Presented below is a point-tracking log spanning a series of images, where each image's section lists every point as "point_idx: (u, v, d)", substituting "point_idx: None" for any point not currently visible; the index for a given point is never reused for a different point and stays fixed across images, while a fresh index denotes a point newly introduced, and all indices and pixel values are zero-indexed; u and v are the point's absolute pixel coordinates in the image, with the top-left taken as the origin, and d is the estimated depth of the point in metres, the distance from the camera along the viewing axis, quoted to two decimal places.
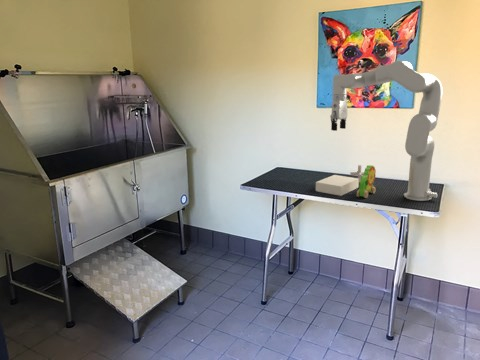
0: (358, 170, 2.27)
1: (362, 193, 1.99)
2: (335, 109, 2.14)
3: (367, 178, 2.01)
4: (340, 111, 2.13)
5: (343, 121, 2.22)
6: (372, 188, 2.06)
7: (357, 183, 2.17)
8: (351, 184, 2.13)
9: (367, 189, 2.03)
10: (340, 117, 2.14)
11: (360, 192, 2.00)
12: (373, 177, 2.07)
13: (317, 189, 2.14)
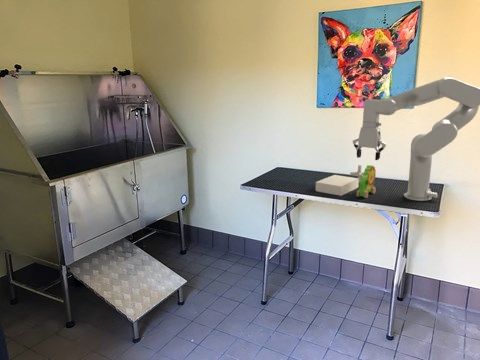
0: (358, 170, 2.27)
1: (362, 193, 1.99)
2: (379, 137, 1.96)
3: (367, 178, 2.01)
4: None
5: (360, 149, 2.04)
6: (372, 188, 2.06)
7: (357, 183, 2.17)
8: (351, 184, 2.13)
9: (367, 189, 2.03)
10: None
11: (360, 192, 2.00)
12: (373, 177, 2.07)
13: (317, 189, 2.14)
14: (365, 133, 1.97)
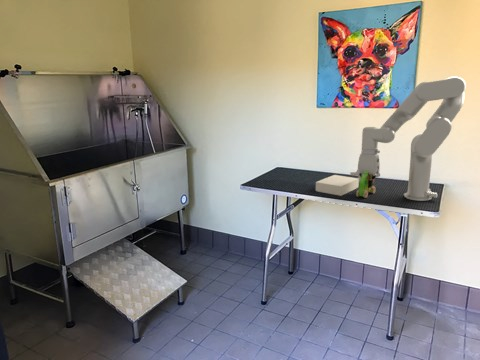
0: None
1: (362, 193, 1.99)
2: (378, 164, 1.99)
3: (367, 178, 2.01)
4: None
5: None
6: (372, 188, 2.06)
7: (357, 183, 2.17)
8: (351, 184, 2.13)
9: (367, 189, 2.03)
10: None
11: (360, 192, 2.00)
12: None
13: (317, 189, 2.14)
14: (364, 160, 2.01)
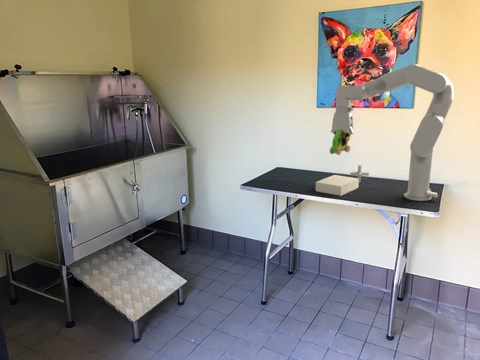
0: (358, 170, 2.27)
1: (335, 150, 2.04)
2: (351, 121, 2.04)
3: (340, 135, 2.06)
4: None
5: None
6: (346, 146, 2.11)
7: (357, 183, 2.17)
8: (351, 184, 2.13)
9: (340, 147, 2.08)
10: None
11: (333, 149, 2.05)
12: (348, 136, 2.12)
13: (317, 189, 2.14)
14: (338, 118, 2.05)
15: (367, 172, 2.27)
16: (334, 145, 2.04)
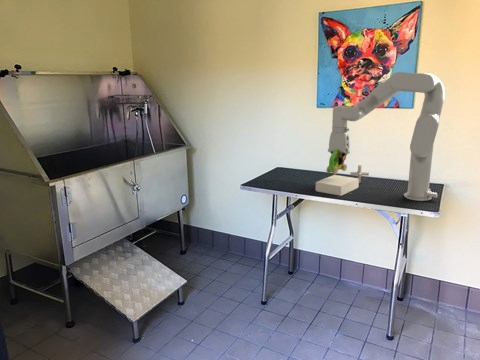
0: (358, 170, 2.27)
1: (332, 169, 2.08)
2: (348, 141, 2.08)
3: (337, 155, 2.09)
4: None
5: None
6: (343, 165, 2.15)
7: (357, 183, 2.17)
8: (351, 184, 2.13)
9: (337, 166, 2.11)
10: None
11: (329, 168, 2.09)
12: None
13: (317, 189, 2.14)
14: (334, 138, 2.09)
15: (367, 172, 2.27)
16: (331, 165, 2.08)
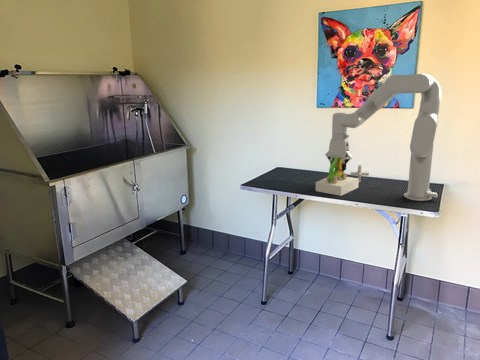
0: (358, 170, 2.27)
1: (332, 178, 2.09)
2: (347, 148, 2.08)
3: (337, 164, 2.11)
4: None
5: None
6: (343, 174, 2.16)
7: (357, 183, 2.17)
8: (351, 184, 2.13)
9: (337, 175, 2.13)
10: None
11: (330, 177, 2.10)
12: None
13: (317, 189, 2.14)
14: (334, 145, 2.10)
15: (367, 172, 2.27)
16: (331, 174, 2.09)
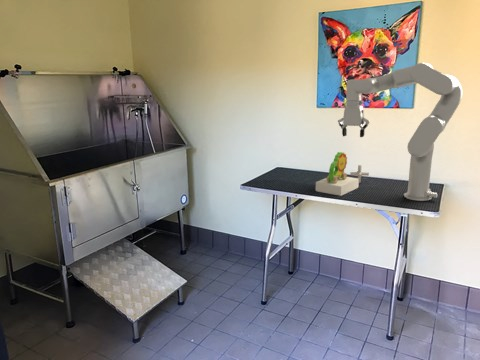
0: (358, 170, 2.27)
1: (332, 178, 2.09)
2: (363, 115, 2.05)
3: (337, 164, 2.11)
4: None
5: (345, 128, 2.13)
6: (343, 174, 2.16)
7: (357, 183, 2.17)
8: (351, 184, 2.13)
9: (337, 175, 2.13)
10: None
11: (330, 177, 2.10)
12: (344, 164, 2.17)
13: (317, 189, 2.14)
14: (349, 112, 2.07)
15: (367, 172, 2.27)
16: (331, 174, 2.09)
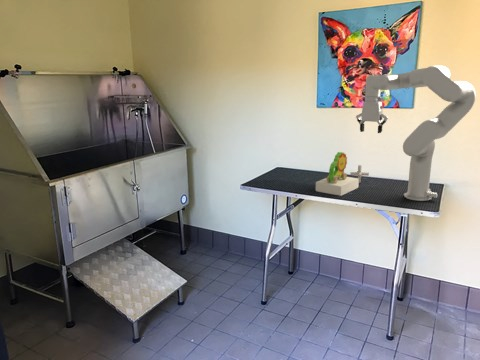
0: (358, 170, 2.27)
1: (332, 178, 2.09)
2: (381, 111, 2.07)
3: (337, 164, 2.11)
4: None
5: (363, 124, 2.15)
6: (343, 174, 2.16)
7: (357, 183, 2.17)
8: (351, 184, 2.13)
9: (337, 175, 2.13)
10: None
11: (330, 177, 2.10)
12: (344, 164, 2.17)
13: (317, 189, 2.14)
14: (367, 108, 2.08)
15: (367, 172, 2.27)
16: (331, 174, 2.09)
